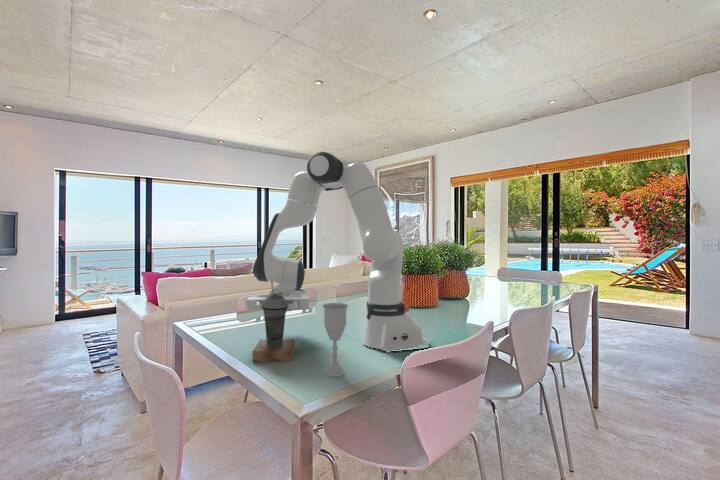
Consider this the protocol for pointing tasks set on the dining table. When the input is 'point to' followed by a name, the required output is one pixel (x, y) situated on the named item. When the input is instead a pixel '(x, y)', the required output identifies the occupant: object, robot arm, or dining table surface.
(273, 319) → the beverage cup
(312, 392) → the dining table surface
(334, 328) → the chalice
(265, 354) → the walnut plinth
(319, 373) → the dining table surface
